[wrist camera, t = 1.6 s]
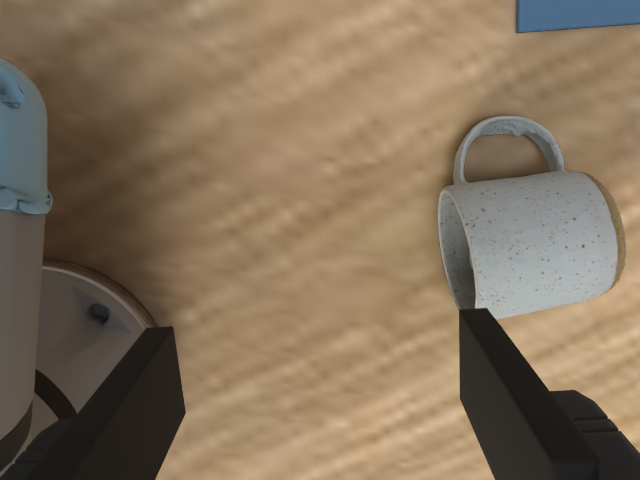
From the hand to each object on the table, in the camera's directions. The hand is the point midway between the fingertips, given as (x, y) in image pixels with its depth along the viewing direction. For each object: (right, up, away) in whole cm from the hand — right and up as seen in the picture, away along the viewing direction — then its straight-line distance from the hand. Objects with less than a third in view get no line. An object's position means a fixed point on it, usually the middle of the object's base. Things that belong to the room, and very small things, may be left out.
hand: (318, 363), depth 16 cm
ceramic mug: (+11, +5, +18) cm, 22 cm away
